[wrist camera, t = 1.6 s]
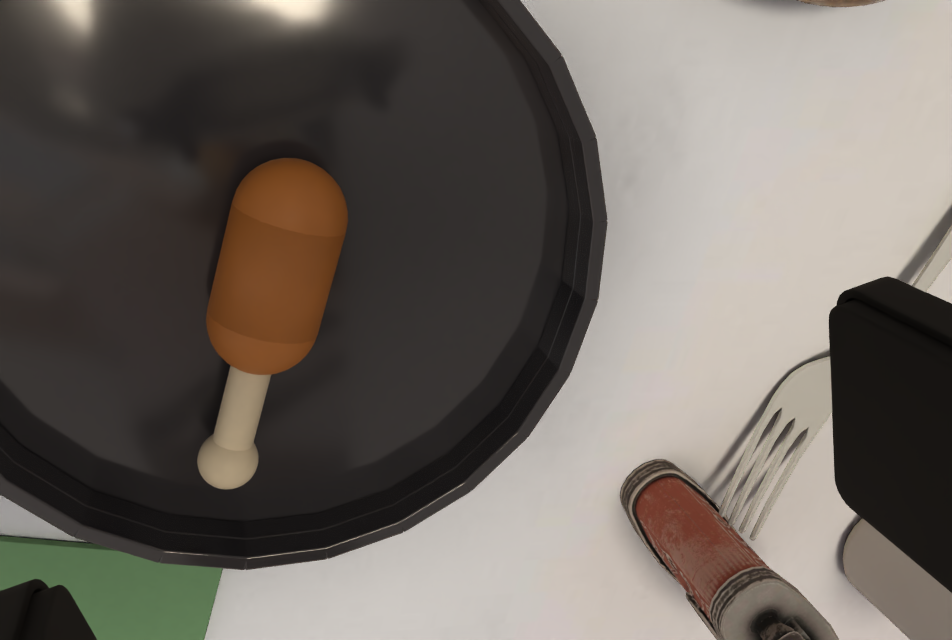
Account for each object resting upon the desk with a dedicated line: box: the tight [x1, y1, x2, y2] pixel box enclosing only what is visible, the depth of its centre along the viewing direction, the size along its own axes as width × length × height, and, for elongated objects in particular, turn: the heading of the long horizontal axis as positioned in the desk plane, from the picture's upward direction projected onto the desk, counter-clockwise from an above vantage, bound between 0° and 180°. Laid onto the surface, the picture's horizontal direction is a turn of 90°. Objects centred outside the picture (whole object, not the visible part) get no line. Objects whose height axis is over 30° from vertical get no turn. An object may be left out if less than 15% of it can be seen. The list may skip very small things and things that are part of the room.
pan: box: [0, 0, 607, 570], centre depth 25 cm, size 20×20×2 cm
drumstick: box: [197, 158, 348, 489], centre depth 25 cm, size 10×3×3 cm, turn 162°
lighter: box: [620, 460, 839, 640], centre depth 31 cm, size 8×3×10 cm, turn 37°
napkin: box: [0, 536, 223, 640], centre depth 28 cm, size 10×6×1 cm, turn 72°
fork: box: [719, 225, 952, 541], centre depth 33 cm, size 3×24×2 cm, turn 142°
